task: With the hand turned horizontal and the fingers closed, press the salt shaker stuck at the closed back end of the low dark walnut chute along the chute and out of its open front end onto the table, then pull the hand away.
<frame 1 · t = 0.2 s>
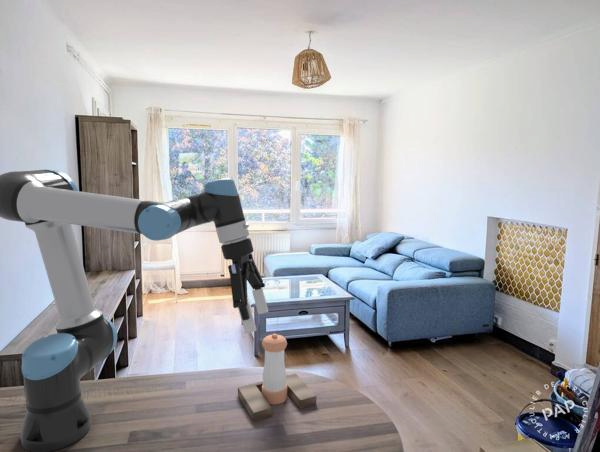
hand: (257, 321, 107), 27 cm above the table, tool tilted 15°, fingers open, 13 cm apart
salt shaker: (274, 397, 121), on the table
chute: (277, 400, 119), on the table
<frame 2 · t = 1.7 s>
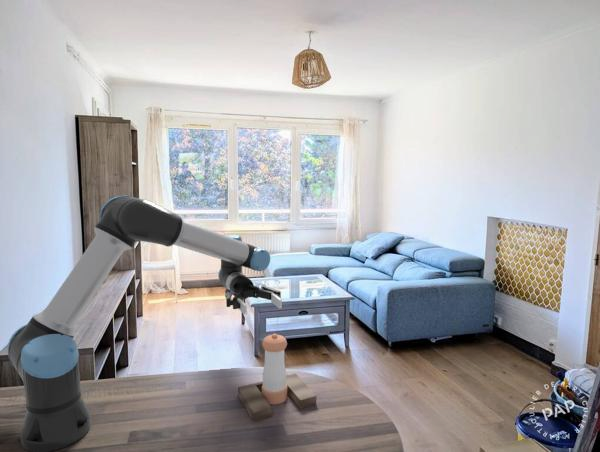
hand: (263, 307, 125), 24 cm above the table, tool horizontal, fingers open, 10 cm apart
nothing on the table moved.
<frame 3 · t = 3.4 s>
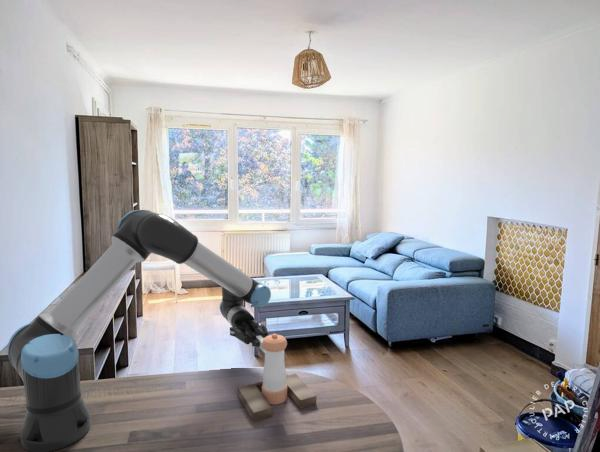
hand: (266, 348, 126), 12 cm above the table, tool horizontal, fingers closed
nothing on the table moved.
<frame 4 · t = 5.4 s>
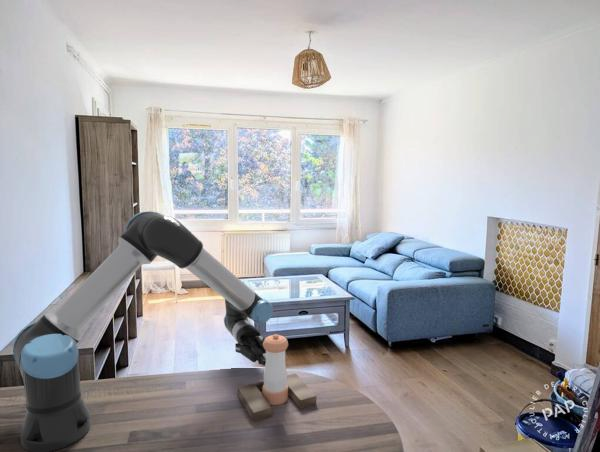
hand: (273, 367, 123), 7 cm above the table, tool horizontal, fingers closed
salt shaker: (275, 398, 121), on the table, touching gripper
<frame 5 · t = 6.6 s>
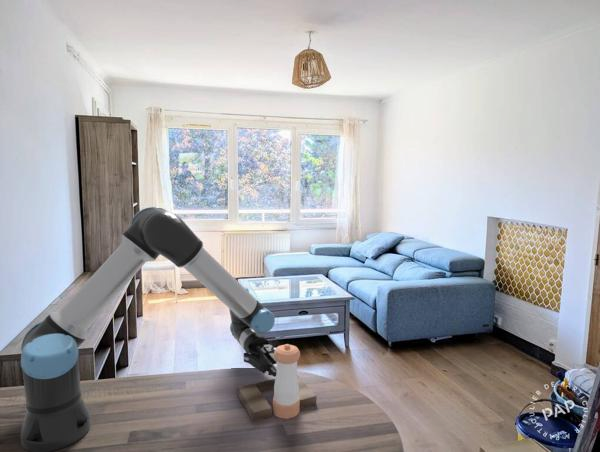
hand: (284, 379, 117), 7 cm above the table, tool horizontal, fingers closed
salt shaker: (286, 411, 115), on the table, touching gripper
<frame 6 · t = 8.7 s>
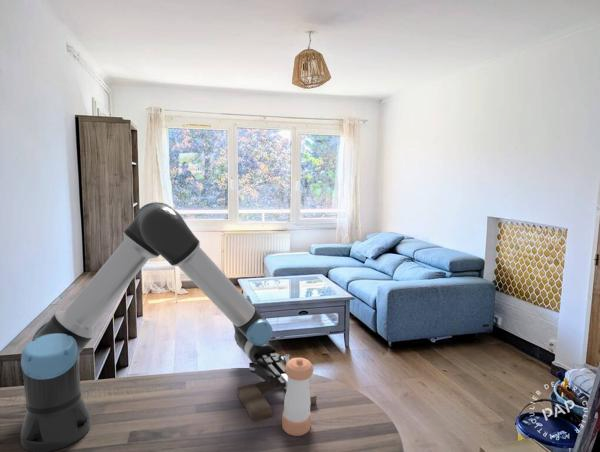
hand: (293, 390, 110), 8 cm above the table, tool horizontal, fingers closed
salt shaker: (296, 426, 108), on the table, touching gripper
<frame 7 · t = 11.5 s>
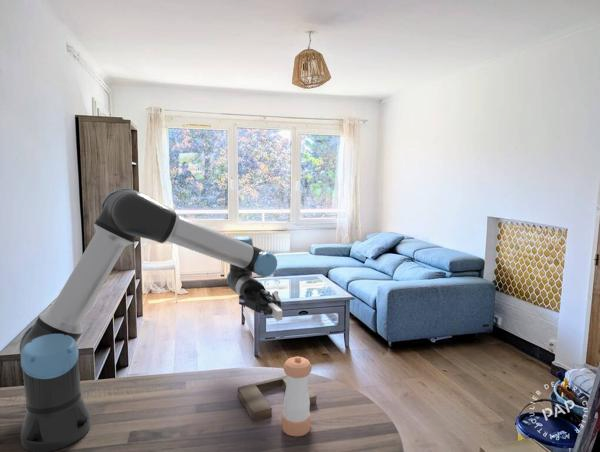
hand: (279, 315, 115), 25 cm above the table, tool horizontal, fingers closed
salt shaker: (296, 427, 108), on the table
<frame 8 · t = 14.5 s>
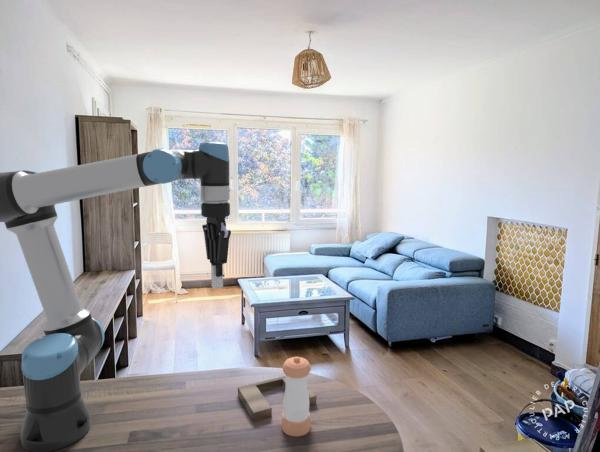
hand: (217, 286, 116), 32 cm above the table, tool pointing down, fingers closed
nothing on the table moved.
at the end: salt shaker moved 14.8 cm from its start; salt shaker inside the target area (1.1 cm from its centre), on the table; salt shaker tilted 0° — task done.
